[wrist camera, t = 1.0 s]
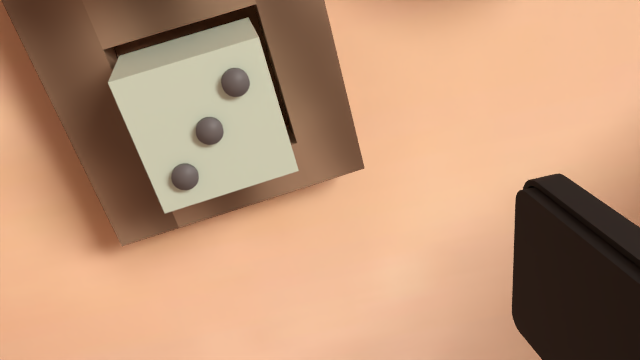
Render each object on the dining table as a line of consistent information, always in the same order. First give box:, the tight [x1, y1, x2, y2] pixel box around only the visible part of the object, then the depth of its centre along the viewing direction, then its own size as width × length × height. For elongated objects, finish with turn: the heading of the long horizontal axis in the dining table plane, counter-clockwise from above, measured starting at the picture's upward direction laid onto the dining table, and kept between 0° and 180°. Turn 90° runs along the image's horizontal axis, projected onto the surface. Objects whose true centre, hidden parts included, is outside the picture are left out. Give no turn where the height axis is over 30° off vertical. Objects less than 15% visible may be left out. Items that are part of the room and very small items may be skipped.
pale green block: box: [108, 17, 299, 213], centre depth 26 cm, size 6×6×5 cm
